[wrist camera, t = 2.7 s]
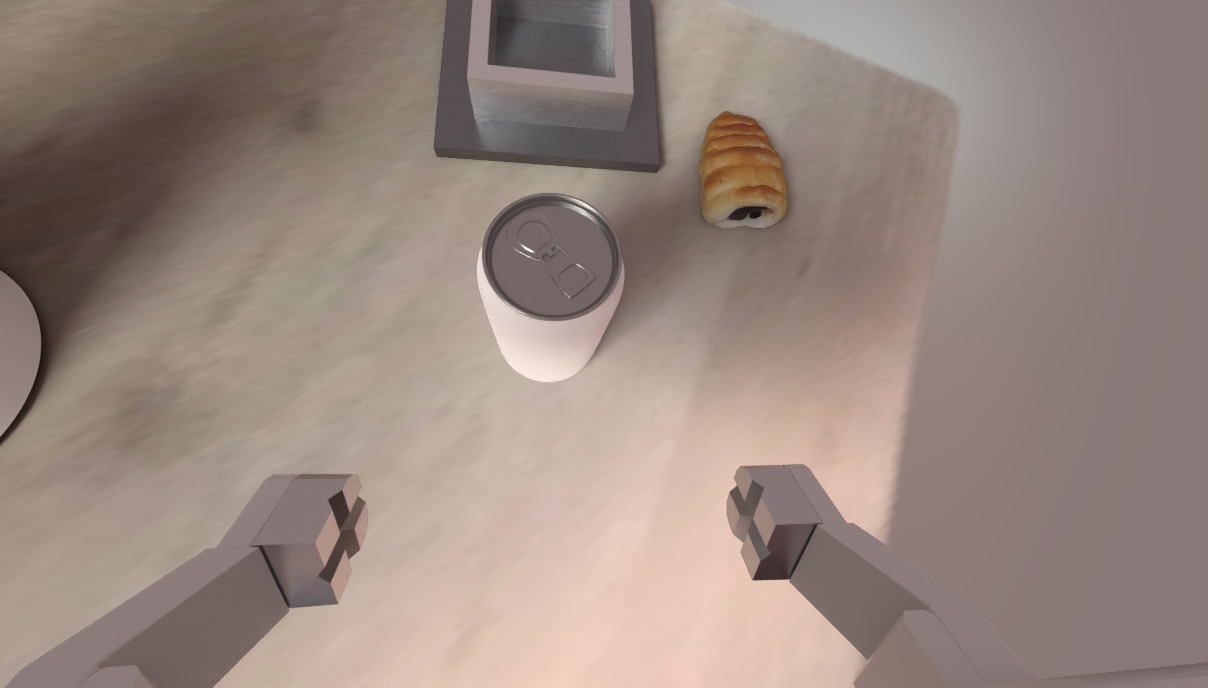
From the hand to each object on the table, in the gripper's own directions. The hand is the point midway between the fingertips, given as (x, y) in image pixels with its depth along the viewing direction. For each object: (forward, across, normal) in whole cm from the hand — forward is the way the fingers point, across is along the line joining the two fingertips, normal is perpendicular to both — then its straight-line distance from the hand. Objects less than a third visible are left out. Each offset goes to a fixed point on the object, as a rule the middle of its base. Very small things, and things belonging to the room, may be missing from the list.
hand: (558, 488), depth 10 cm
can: (+19, 0, +7) cm, 20 cm away
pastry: (+28, -14, -2) cm, 31 cm away
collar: (+34, 0, -8) cm, 35 cm away
